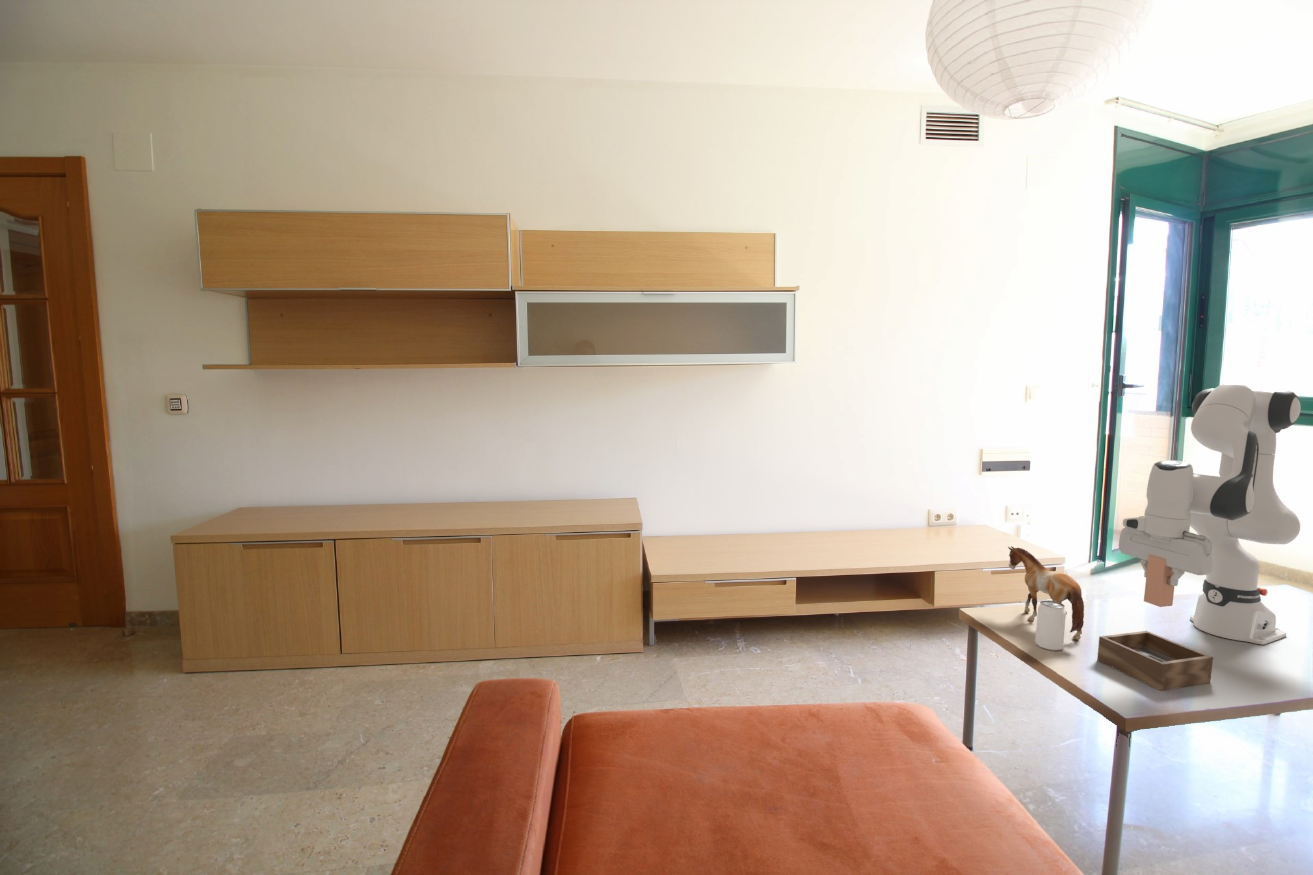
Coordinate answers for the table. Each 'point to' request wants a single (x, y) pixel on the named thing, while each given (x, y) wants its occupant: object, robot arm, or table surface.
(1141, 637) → the wooden tray
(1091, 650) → the table surface
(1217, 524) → the robot arm
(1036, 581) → the horse figurine
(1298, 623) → the table surface
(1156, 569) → the peg
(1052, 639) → the can
